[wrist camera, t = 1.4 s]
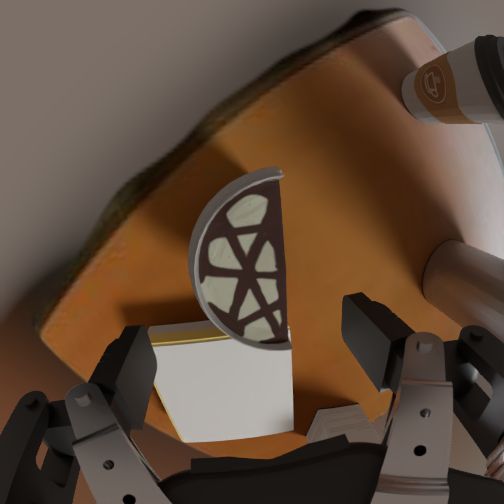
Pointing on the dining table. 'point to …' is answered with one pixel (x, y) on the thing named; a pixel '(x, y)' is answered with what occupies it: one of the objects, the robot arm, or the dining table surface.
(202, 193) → the dining table surface
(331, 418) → the supplement box
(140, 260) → the dining table surface
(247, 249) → the food container
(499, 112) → the coffee cup
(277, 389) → the white flat block
